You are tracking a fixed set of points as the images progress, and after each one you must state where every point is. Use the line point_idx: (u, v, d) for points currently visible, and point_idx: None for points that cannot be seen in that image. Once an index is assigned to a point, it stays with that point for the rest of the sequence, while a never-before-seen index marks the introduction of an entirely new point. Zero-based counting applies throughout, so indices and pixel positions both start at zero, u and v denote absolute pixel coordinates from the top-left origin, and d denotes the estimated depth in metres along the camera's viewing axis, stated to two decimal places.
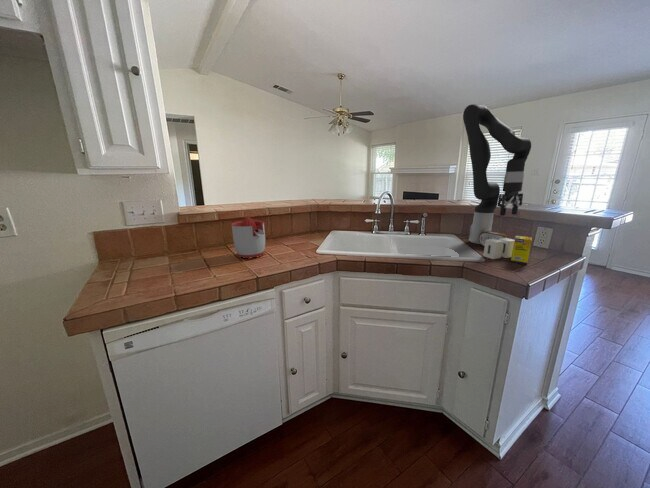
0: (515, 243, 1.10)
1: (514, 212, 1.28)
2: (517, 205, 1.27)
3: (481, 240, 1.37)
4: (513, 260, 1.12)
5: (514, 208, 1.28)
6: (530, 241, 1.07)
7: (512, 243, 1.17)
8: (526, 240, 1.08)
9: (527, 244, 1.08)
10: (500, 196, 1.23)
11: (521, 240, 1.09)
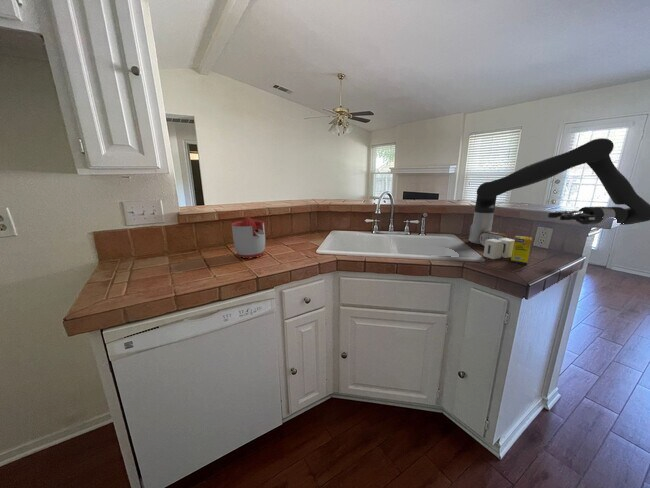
0: (515, 243, 1.10)
1: (551, 215, 1.11)
2: (560, 217, 1.11)
3: (481, 240, 1.37)
4: (513, 260, 1.12)
5: (556, 215, 1.11)
6: (530, 241, 1.07)
7: (511, 243, 1.17)
8: (526, 240, 1.08)
9: (527, 244, 1.08)
10: (592, 217, 1.01)
11: (521, 240, 1.09)
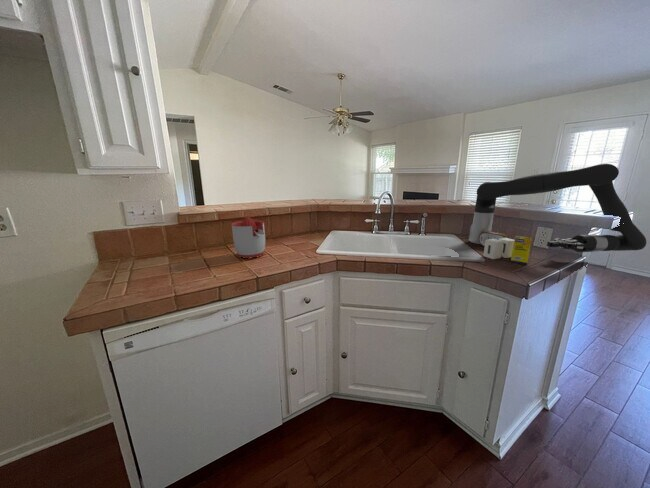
0: (515, 243, 1.10)
1: None
2: (559, 246, 1.12)
3: (481, 240, 1.37)
4: (513, 260, 1.12)
5: None
6: (530, 241, 1.07)
7: (512, 243, 1.17)
8: (526, 240, 1.08)
9: (527, 244, 1.08)
10: (579, 246, 1.05)
11: (521, 240, 1.09)
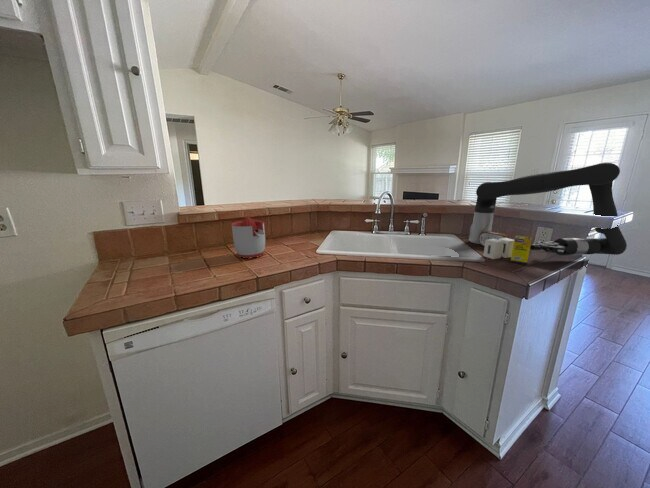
0: (515, 243, 1.10)
1: None
2: None
3: (481, 240, 1.37)
4: (513, 260, 1.12)
5: None
6: (530, 241, 1.07)
7: (512, 243, 1.17)
8: (526, 240, 1.08)
9: (527, 244, 1.08)
10: (560, 249, 1.06)
11: (521, 240, 1.09)
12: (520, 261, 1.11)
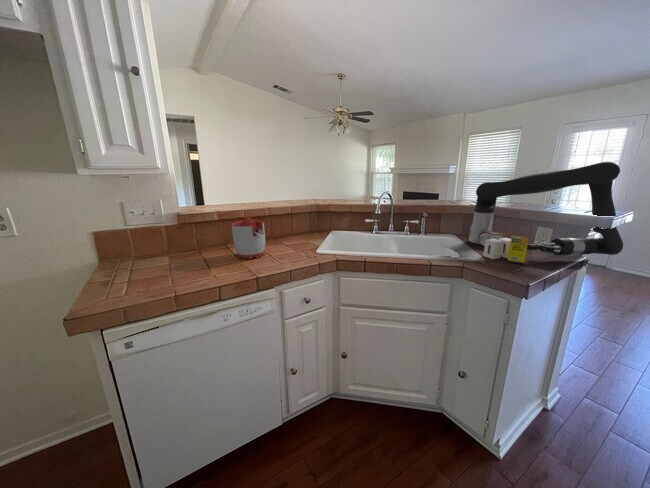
0: (512, 243, 1.10)
1: None
2: None
3: (481, 240, 1.37)
4: (510, 260, 1.12)
5: None
6: (527, 241, 1.07)
7: None
8: (523, 240, 1.08)
9: (524, 244, 1.08)
10: (557, 249, 1.06)
11: (518, 240, 1.09)
12: (517, 261, 1.11)
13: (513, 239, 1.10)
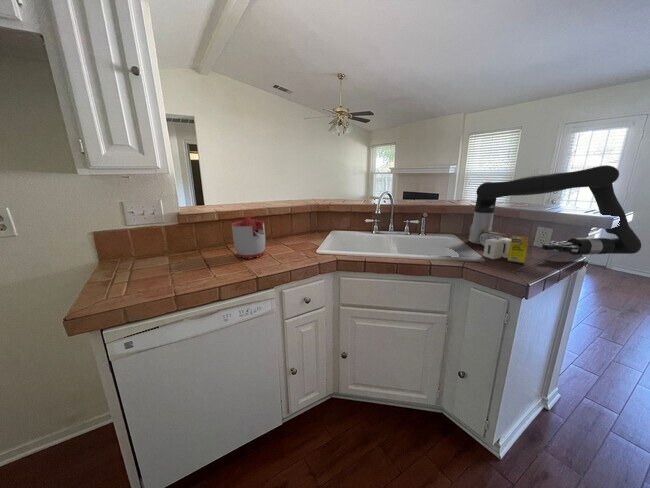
0: (512, 243, 1.10)
1: None
2: None
3: (481, 240, 1.37)
4: (510, 260, 1.12)
5: None
6: (527, 241, 1.07)
7: None
8: (523, 240, 1.08)
9: (524, 244, 1.08)
10: (574, 249, 1.06)
11: (518, 240, 1.09)
12: (517, 261, 1.11)
13: (513, 239, 1.10)
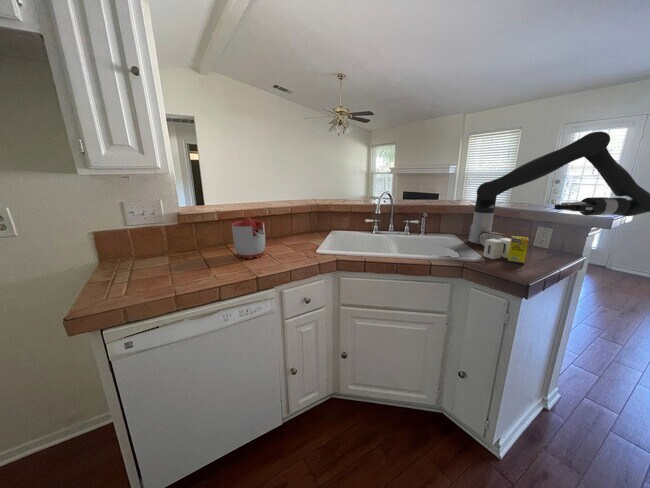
0: (512, 243, 1.10)
1: None
2: (566, 209, 1.08)
3: (481, 240, 1.37)
4: (510, 260, 1.12)
5: None
6: (527, 241, 1.07)
7: None
8: (523, 240, 1.08)
9: (524, 244, 1.08)
10: (588, 207, 1.01)
11: (518, 240, 1.09)
12: (517, 261, 1.11)
13: (513, 239, 1.10)
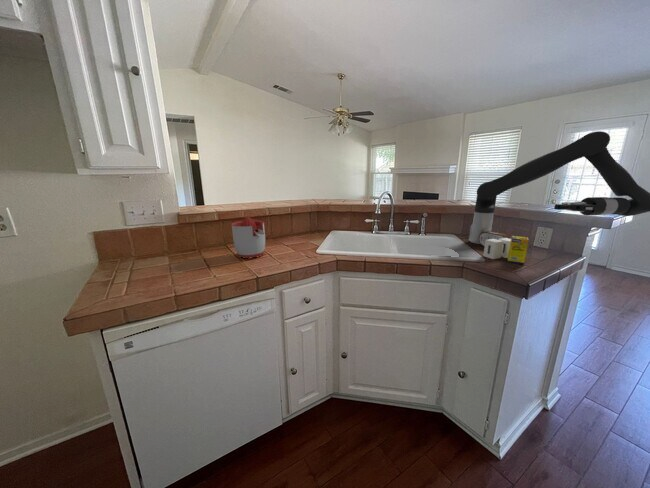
0: (512, 243, 1.10)
1: None
2: (566, 209, 1.08)
3: (481, 240, 1.37)
4: (510, 260, 1.12)
5: None
6: (527, 241, 1.07)
7: None
8: (523, 240, 1.08)
9: (524, 244, 1.08)
10: (589, 207, 1.01)
11: (518, 240, 1.09)
12: (517, 261, 1.11)
13: (513, 239, 1.10)
